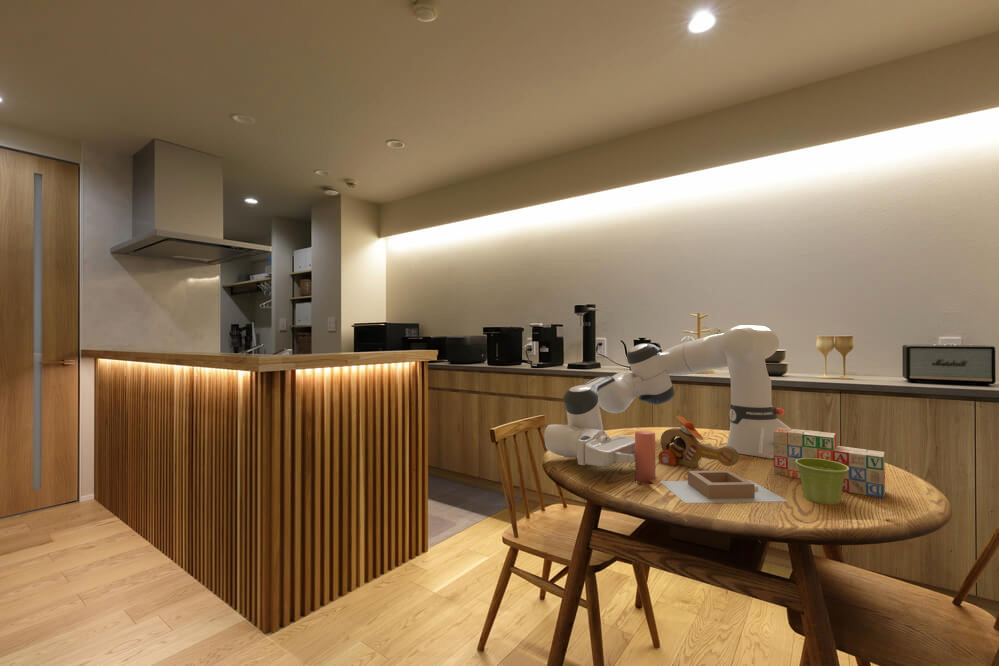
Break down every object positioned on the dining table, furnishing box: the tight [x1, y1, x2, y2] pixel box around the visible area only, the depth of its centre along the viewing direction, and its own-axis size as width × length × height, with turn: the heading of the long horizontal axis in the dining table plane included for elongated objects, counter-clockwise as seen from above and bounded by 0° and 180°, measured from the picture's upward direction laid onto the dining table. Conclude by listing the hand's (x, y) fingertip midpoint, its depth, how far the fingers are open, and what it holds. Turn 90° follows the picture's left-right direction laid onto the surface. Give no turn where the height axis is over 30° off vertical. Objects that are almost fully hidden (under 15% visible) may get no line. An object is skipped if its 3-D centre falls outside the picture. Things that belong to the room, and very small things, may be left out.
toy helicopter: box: [657, 415, 740, 468], centre depth 120 cm, size 8×21×14 cm, turn 38°
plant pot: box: [795, 458, 849, 505], centre depth 97 cm, size 9×9×9 cm
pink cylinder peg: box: [634, 430, 657, 485], centre depth 113 cm, size 5×5×12 cm
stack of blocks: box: [773, 427, 886, 499], centre depth 109 cm, size 21×6×12 cm, turn 47°
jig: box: [659, 469, 788, 504], centre depth 102 cm, size 22×14×4 cm, turn 92°
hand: (644, 455), depth 113 cm, fingers open, 8 cm apart
